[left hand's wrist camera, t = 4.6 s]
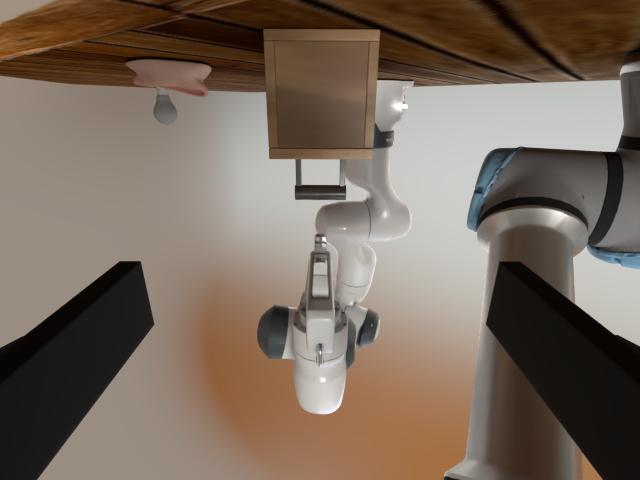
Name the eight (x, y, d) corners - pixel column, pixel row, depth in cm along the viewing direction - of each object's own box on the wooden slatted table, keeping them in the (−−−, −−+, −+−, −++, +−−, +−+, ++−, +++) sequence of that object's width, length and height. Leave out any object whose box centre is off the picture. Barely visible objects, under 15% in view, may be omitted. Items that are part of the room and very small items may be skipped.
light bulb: (169, 84, 89) (175, 124, 92) (176, 85, 94) (181, 123, 98) (145, 84, 88) (152, 124, 92) (153, 85, 94) (159, 124, 97)
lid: (355, 134, 46) (352, 195, 49) (286, 134, 46) (288, 195, 49) (373, 148, 30) (368, 236, 33) (268, 148, 30) (273, 236, 33)
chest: (358, 57, 42) (355, 134, 45) (283, 56, 42) (285, 134, 45) (380, 28, 27) (373, 148, 30) (262, 28, 27) (268, 147, 30)
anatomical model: (126, 92, 42) (221, 94, 46) (119, 57, 41) (218, 62, 45) (135, 96, 54) (211, 97, 58) (131, 68, 52) (208, 71, 56)
